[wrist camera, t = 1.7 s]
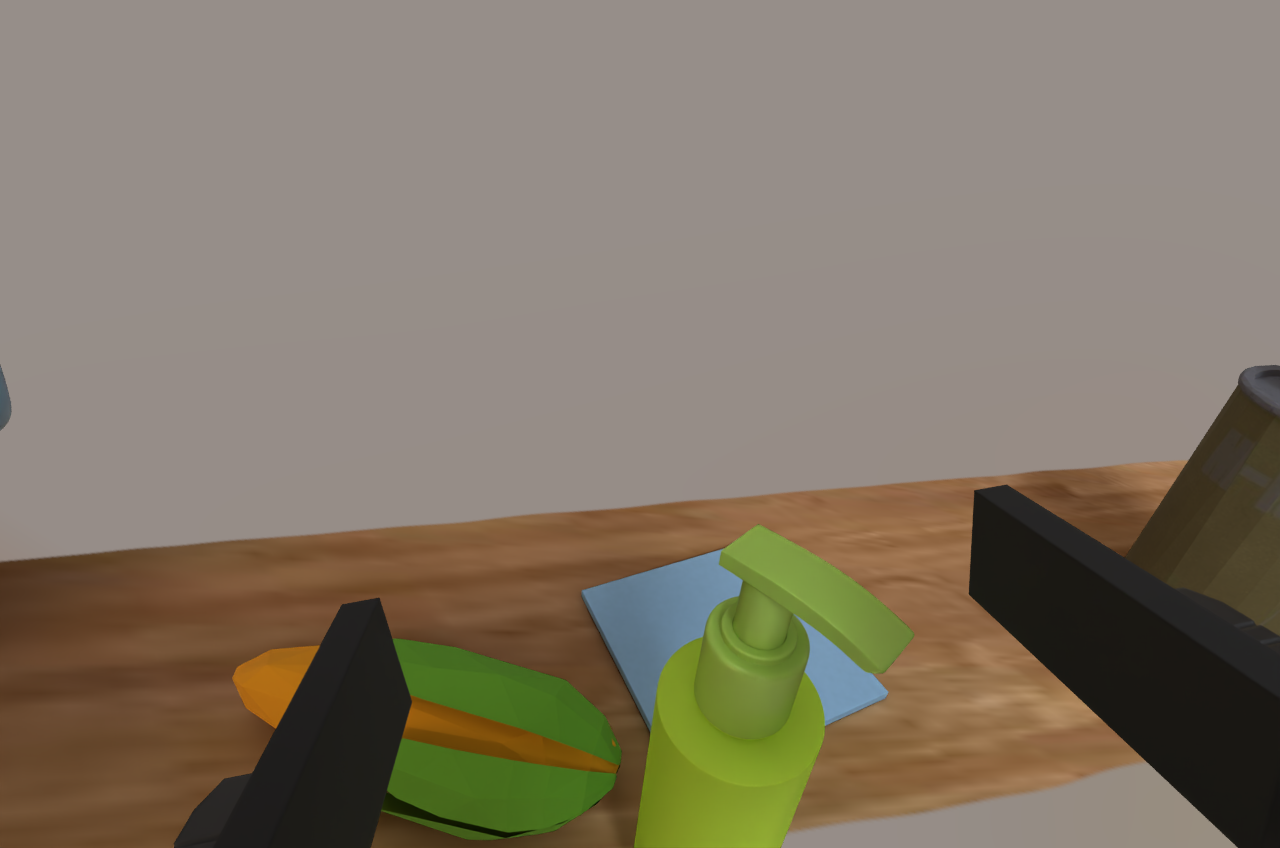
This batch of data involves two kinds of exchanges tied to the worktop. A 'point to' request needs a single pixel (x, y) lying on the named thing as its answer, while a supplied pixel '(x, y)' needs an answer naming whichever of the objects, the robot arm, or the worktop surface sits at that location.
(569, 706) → the corn
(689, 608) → the blue mat
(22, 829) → the worktop surface
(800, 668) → the soap dispenser
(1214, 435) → the canister
